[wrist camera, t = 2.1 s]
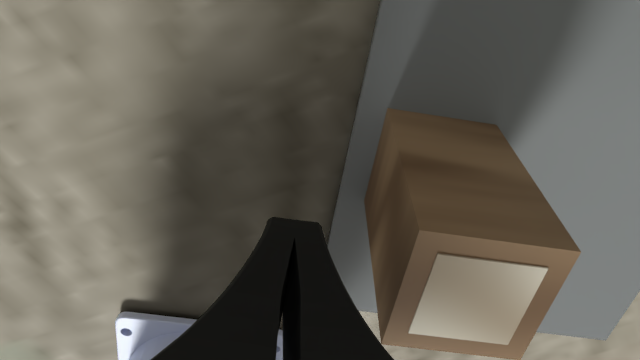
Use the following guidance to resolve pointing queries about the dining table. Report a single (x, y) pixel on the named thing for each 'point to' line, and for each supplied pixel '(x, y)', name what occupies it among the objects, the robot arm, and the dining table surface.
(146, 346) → the robot arm
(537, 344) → the dining table surface
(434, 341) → the walnut block
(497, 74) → the mat
